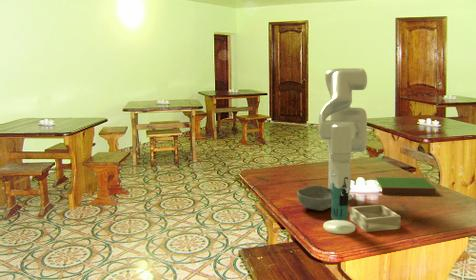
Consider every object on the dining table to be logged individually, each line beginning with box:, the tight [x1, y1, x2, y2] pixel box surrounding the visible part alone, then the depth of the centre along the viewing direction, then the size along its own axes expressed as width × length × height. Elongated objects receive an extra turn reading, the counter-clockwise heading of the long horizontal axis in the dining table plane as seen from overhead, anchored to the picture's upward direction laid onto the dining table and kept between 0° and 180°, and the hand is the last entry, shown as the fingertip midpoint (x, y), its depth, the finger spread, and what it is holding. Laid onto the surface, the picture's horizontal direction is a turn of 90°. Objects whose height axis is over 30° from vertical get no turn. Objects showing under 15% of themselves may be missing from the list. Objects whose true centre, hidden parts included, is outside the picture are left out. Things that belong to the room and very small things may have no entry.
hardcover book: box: [375, 176, 437, 196], centre depth 211 cm, size 25×19×4 cm
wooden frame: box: [349, 204, 402, 233], centre depth 167 cm, size 14×14×5 cm
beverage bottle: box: [330, 182, 349, 221], centre depth 161 cm, size 6×7×20 cm
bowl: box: [296, 184, 332, 212], centre depth 185 cm, size 18×18×8 cm
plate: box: [322, 219, 356, 235], centre depth 163 cm, size 12×12×1 cm
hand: (339, 202), depth 162 cm, fingers closed on beverage bottle, 6 cm apart
